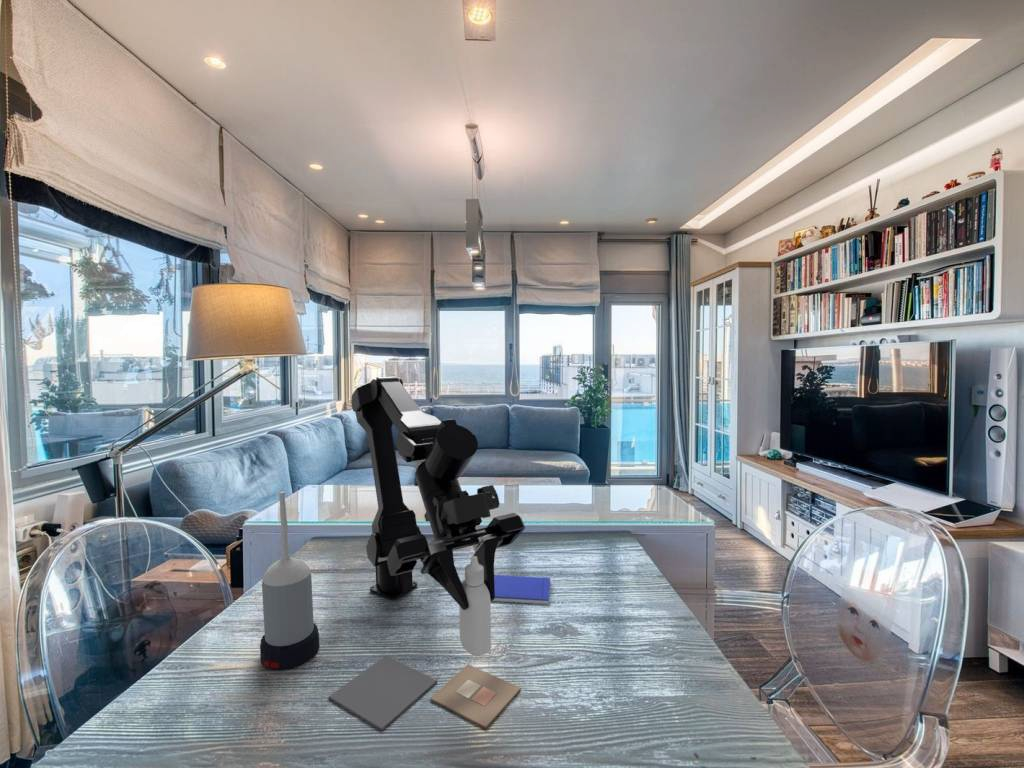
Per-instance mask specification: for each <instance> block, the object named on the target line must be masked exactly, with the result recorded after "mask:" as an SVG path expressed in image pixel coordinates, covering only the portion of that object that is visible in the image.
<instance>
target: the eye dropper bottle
mask: <svg viewBox="0 0 1024 768" xmlns="http://www.w3.org/2000/svg"><path fill="white" fill-rule="evenodd" d="M471 557H472V558H471V559H470V563H469V564H467V565H466V566H465V567H464V577H465V578H464V580H462V581H461V584H462V586H463V589H464V591H465V594H466V597H467V601H468V605H469V607H468V608H467V609H466V610H463V609H462V608H461V607H460V605H459V604H458V605H459V610H458V611H459V640H460V643H461V646H462V647H463V649H464V650H465V651H466V652H467V653H468V654H470V655H472V656H474V657H480V656H483V655H486V654H489V653H490V652H491V650H492V623H491V622H492V617H491V615H492V612H491V609H492V606H491V605H492V604H491V602H492V601H491V600H490V593H489V590H488V588H487V586H486V585H485V584H484V567H483V566H482V565H481V564H478V559H477V557H476V556H473V555H472V556H471Z"/></svg>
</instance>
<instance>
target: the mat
mask: <svg viewBox="0 0 1024 768" xmlns="http://www.w3.org/2000/svg"><path fill="white" fill-rule="evenodd" d="M437 683H438V680H437V679H435V678H433V677H431V676H428V675H427V674H425V673H423V672H421V671H419V670H417V669H415V668H412V667H411V666H409V665H406V664H405V663H403V662H400V661H398V660H396V659H394V658H393V657H390V656H388V655H385V656H383V657H382V658H380V659H379V660H377V661H376V662H375V663H373V664H372V665H370V666H369V667H368V668H366V669H365V670H363V671H362V672H361V673H359V674H358V675H356V676H355V677H354V678H352V679H351V680H349V681H348V682H346V683H345V684H344V685H342V686H341V687H340V688H338V689H337V690H336V691H334V692H333V693H331V694H330V695H329V696H328V699H329V700H331V701H333V702H334V703H336V704H337V705H338V706H341V707H342V708H344V709H345V710H347V711H349V712H350V713H352V714H353V715H355V716H357V717H358V718H360V719H361V720H363V721H365V722H367V723H369V724H370V725H372V726H373V727H375V728H377V730H379V731H384V730H385V729H386V728H387V727H388V726H389V725H390V724H392V723H393V722H394V720H396V719H397V718H399V716H400V715H401V714H403V713H404V712H405V711H406V710H408V709H409V708H410V707H411V706H412V705H413V704H415V702H416V701H418V700H419V699H420V698H421V697H422V696H424V695H425V694H426V693H427V692H428V691H429V690H430V689H431V688H432V687H433V686H435V685H436V684H437Z"/></svg>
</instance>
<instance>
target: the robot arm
mask: <svg viewBox="0 0 1024 768" xmlns="http://www.w3.org/2000/svg"><path fill="white" fill-rule="evenodd" d="M350 399H351V400H350V401H351V409H352V411H353V412H355V417H356V422H357V423H358V424H359V426H360V427H361V428H362V429H363V430H364V432H366V434H367V439H368V445H369V451H370V452H369V453H370V460H371V467H372V473H373V474H372V475H373V480H374V486H375V487H374V489H375V494H376V501H377V511H376V514H375V516H374V518H373V522H372V523H371V531H372V533H371V534H370V536H369V539H368V541H367V544H366V545H365V546H366V547H365V548H366V558H367V559H368V561H369V562H370V563H371V564H372V565H373V568H375V584H374V585H372V586H370V587H369V591H370V592H372V593H374V594H377V595H378V596H379V595H380V596H382V597H385V598H387V599H390V600H396V599H397V598H399V597H401V596H403V595H404V594H405V593H407V592H409V591H411V590H412V589H413V588H416V587H417V586H418V582H417V581H414V580H413V570H414V568H415V567H416V565H417V563H418V561H417V560H420V562H421V563H422V567H421V569H420V573H421V575H426V574H427V575H429V576H431V578H433V580H435V581H436V582H437V583H438V584H439V585H441V587H442V588H443V589H444V590H445V591H446V592H447V593H448V594H449V595H450V596H451V598H452V599H453V600H454V601H455V602H456V603H457V605H460V607H461V608H462V609H463V610H466V609H467V608H468V607H469V605H468V601H467V597H466V594H465V591H464V589H463V586H462V584H461V583H462V580H461V579H460V576H459V573H458V571H457V567H456V565H455V561H454V551H457V550H460V549H463V548H469V547H473V550H474V554H472V556H476V557H477V559H478V564H481V565H482V566H483V567H484V584H485V585H486V586H487V588H488V590H489V593H490V600H491V602H494V601H493V600H494V599H495V585H494V575H495V556H496V551H497V549H499V548H500V549H501V548H503V547H506V546H510V545H511V544H513V543H514V542H515V540H516V539H518V538H519V536H520V535H521V534H522V533H523V532H524V531H525V529H526V526H525V524H524V521H523V517H521V516H520V515H519V514H517V513H515V512H511V513H507V514H502V515H498V516H494V517H493V518H492V520H490V522H489V523H488V525H487V526H486V527H482V528H478V529H476V527H477V526H480V525H481V523H482V522H483V520H482V519H485V518H490V517H491V511H490V510H495V509H498V508H499V507H500V499H499V495H498V492H497V490H496V489H495V487H494V485H493V484H490V485H485V486H481V487H479V488H477V491H476V493H475V494H471V495H470V494H469V493H468V491H467V490H462V487H461V485H460V483H459V478H460V477H462V475H463V474H464V473H465V471H466V469H467V468H468V466H469V464H470V462H471V461H472V459H473V458H474V456H475V455H476V453H477V450H478V444H479V442H478V439H477V436H476V435H475V434H473V432H472V431H470V430H469V429H468V428H467V427H465V426H462V425H459V424H457V421H456V419H455V418H448V419H442V420H440V419H439V418H437V417H436V416H434V415H432V414H429V413H425V412H423V411H422V409H421V408H420V407H419V406H418V404H417V402H416V401H415V400H414V399H413V397H412V396H411V395H410V393H409V392H408V391H407V389H406V388H405V387H404V383H403V379H402V377H398V376H396V375H395V376H378V377H375V378H373V379H372V380H371V381H370V382H368V383H365V384H363V385H361V386H359V387H356V389H355V391H353V393H352V395H351V397H350ZM393 425H394V427H395V428H396V430H397V437H396V447H395V442H394V441H395V440H394V433H393ZM395 448H396V449H397V452H398V454H399V455H400V457H402V459H403V460H404V461H405V462H406V463H413V462H420V464H419V465H418V466H417V468H416V471H415V472H414V480H413V484H414V486H415V487H418V489H419V493H420V496H421V499H422V502H423V503H422V504H423V505H424V509H425V514H424V515H423V516H424V519H425V520H424V521H425V522H426V523H427V522H429V525H430V528H431V531H432V534H433V537H434V538H433V540H427V537H426V536H425V535H424V534H423V533H422V531H421V530H420V527H419V525H418V524H417V518H416V513H415V511H414V510H413V509H410V508H409V507H408V506H407V505H406V504H405V503H404V499H403V491H402V484H401V479H400V471H399V467H398V460H397V454H396V453H397V452H396V449H395ZM421 461H422V462H421ZM472 556H471V558H472Z"/></svg>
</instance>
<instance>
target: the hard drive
mask: <svg viewBox="0 0 1024 768" xmlns="http://www.w3.org/2000/svg"><path fill="white" fill-rule="evenodd" d="M494 585H495V599H494V600H493V601H492V602H505V603H523V604H524V603H525V604H526V603H527V604H543V605H549V603H550V601H549V600H550V587H551V577H543V576H541V577H539V576H526V575H525V576H523V575H508V574H507V575H505V574H494Z"/></svg>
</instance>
